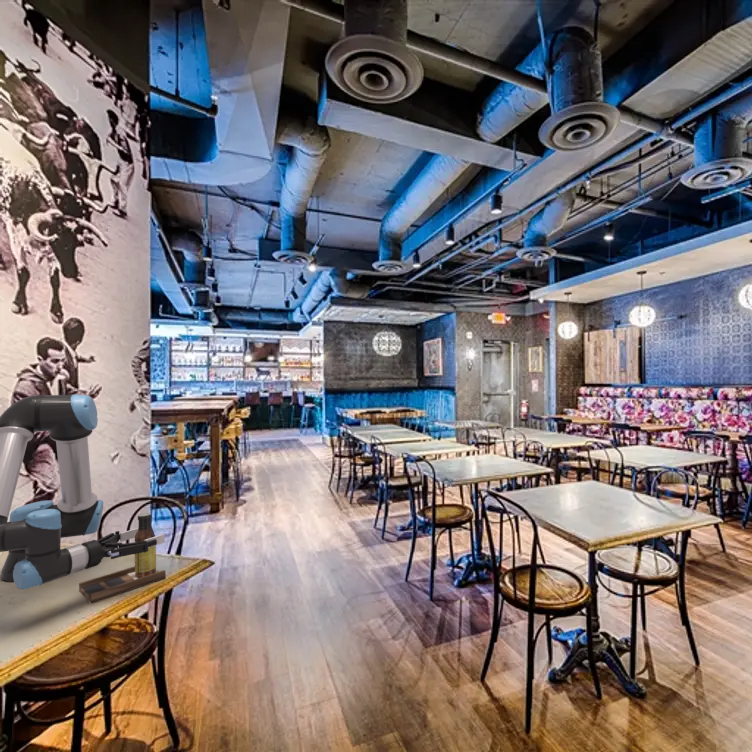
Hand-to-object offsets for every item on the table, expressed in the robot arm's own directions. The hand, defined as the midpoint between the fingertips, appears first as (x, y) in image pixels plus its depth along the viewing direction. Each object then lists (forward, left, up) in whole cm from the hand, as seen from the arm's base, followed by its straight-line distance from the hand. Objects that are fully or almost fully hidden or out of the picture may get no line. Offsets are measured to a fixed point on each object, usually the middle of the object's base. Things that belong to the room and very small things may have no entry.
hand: (151, 534), depth 140 cm
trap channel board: (0, -9, -13) cm, 16 cm away
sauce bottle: (0, -2, -13) cm, 13 cm away
